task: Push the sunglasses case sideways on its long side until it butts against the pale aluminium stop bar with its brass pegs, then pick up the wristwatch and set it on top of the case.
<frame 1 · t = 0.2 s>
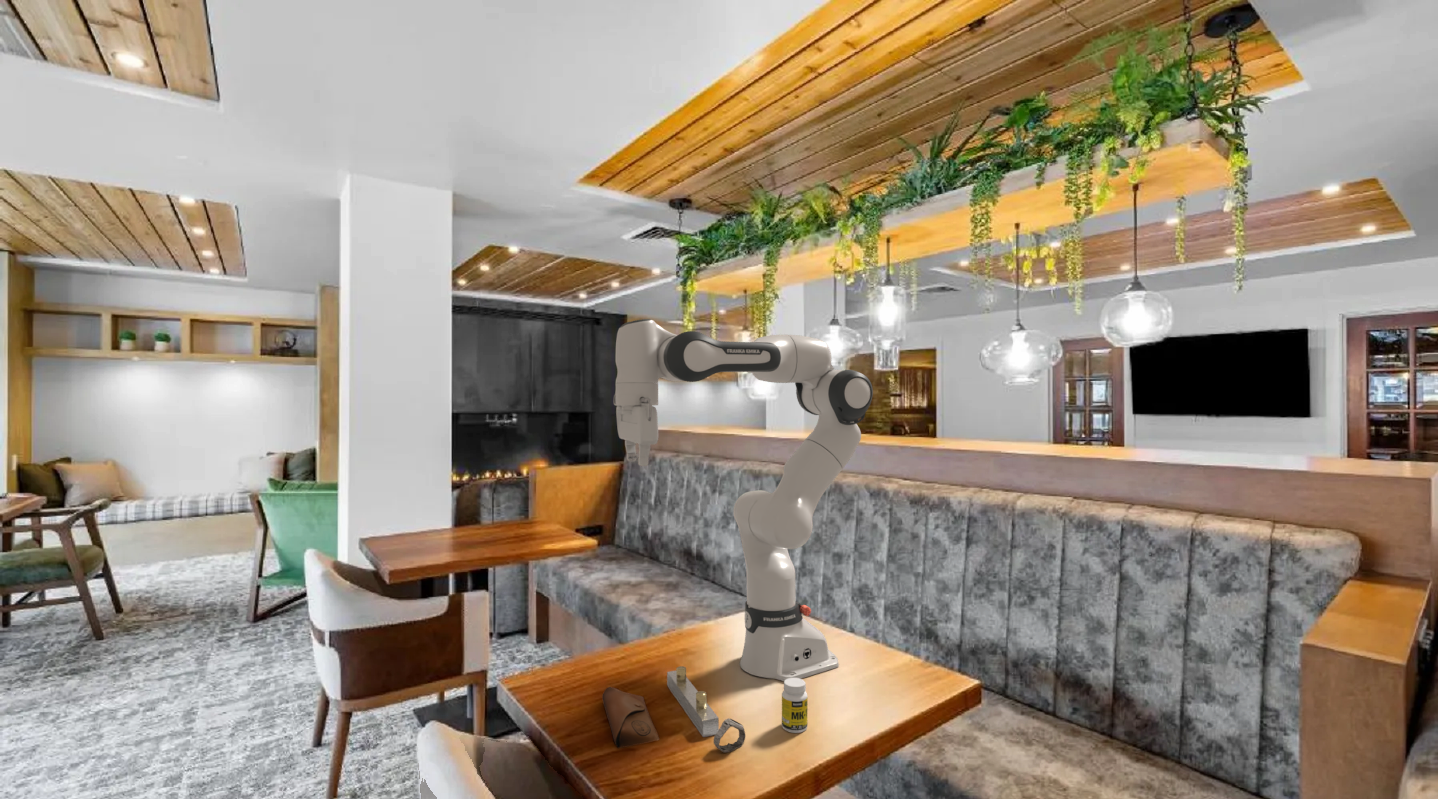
hand: (637, 463, 135), 47 cm above the table, tool pointing down, fingers open, 8 cm apart
sunglasses case: (629, 724, 123), on the table
stop bar: (691, 708, 127), on the table
supplement bottle: (794, 728, 120), on the table
wristwatch: (729, 749, 113), on the table
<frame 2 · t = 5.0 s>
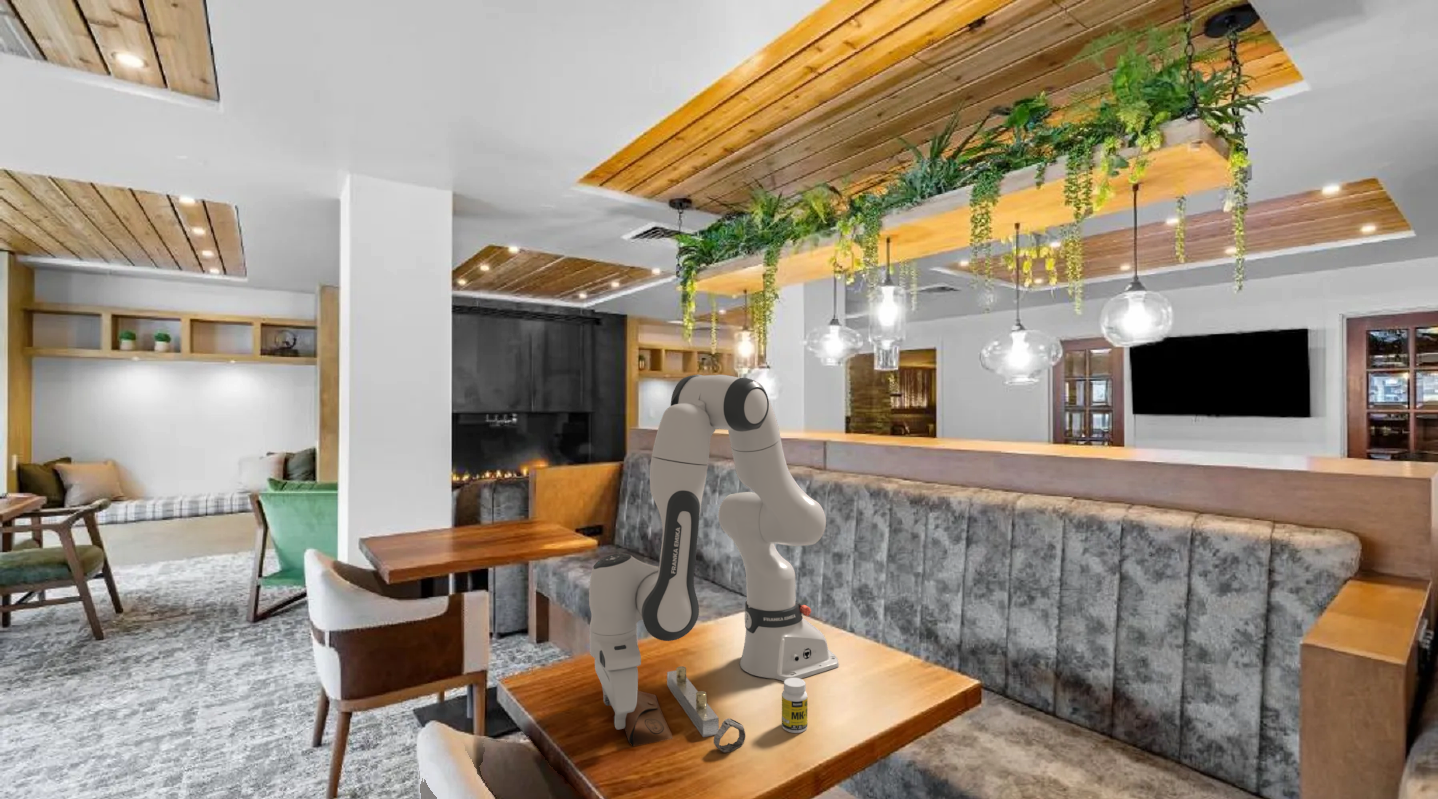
hand: (614, 715, 122), 1 cm above the table, tool pointing down, fingers open, 8 cm apart
sunglasses case: (642, 722, 123), on the table, touching gripper
everything else where it was.
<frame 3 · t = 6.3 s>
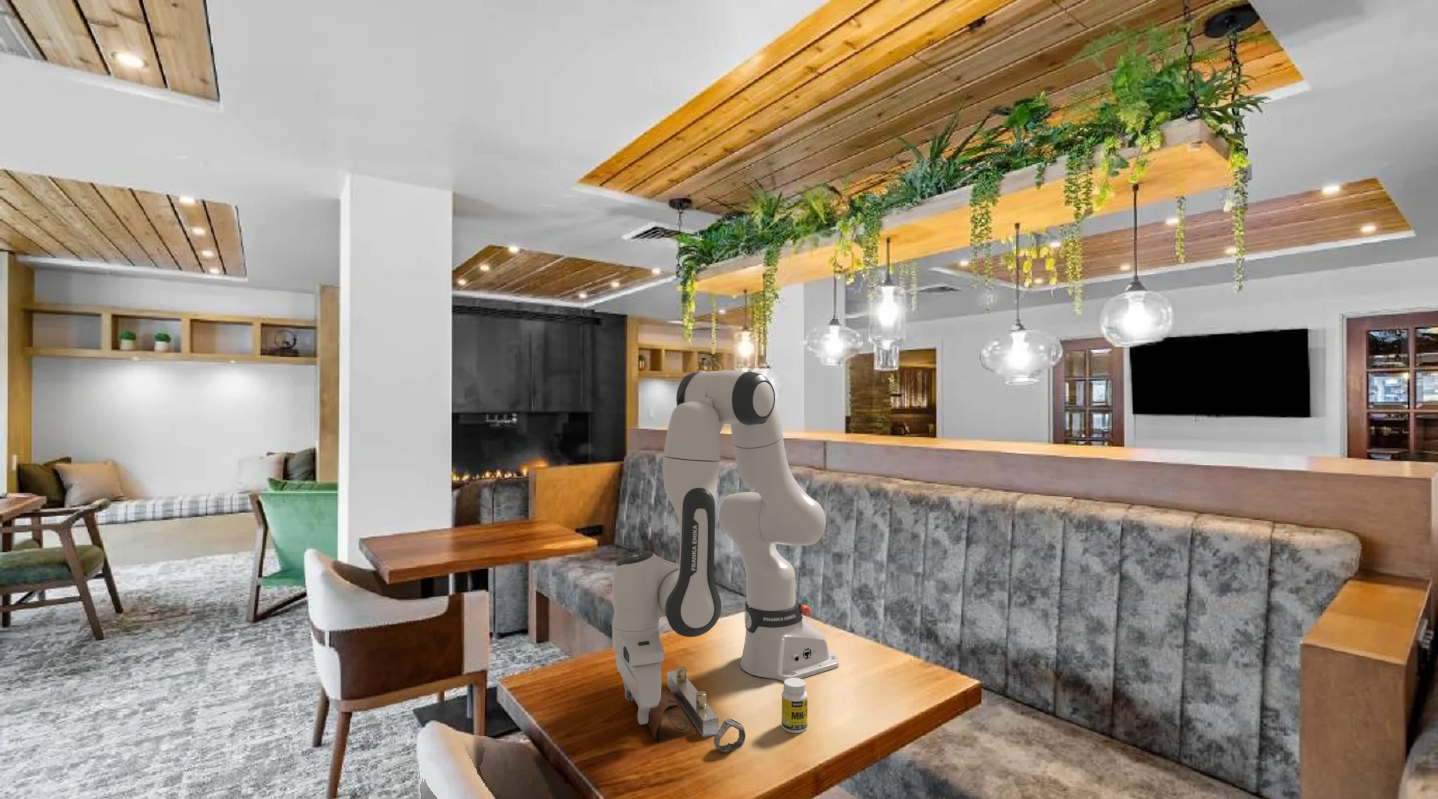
hand: (636, 710, 123), 2 cm above the table, tool pointing down, fingers open, 8 cm apart
sunglasses case: (663, 719, 124), on the table
everything else where it was.
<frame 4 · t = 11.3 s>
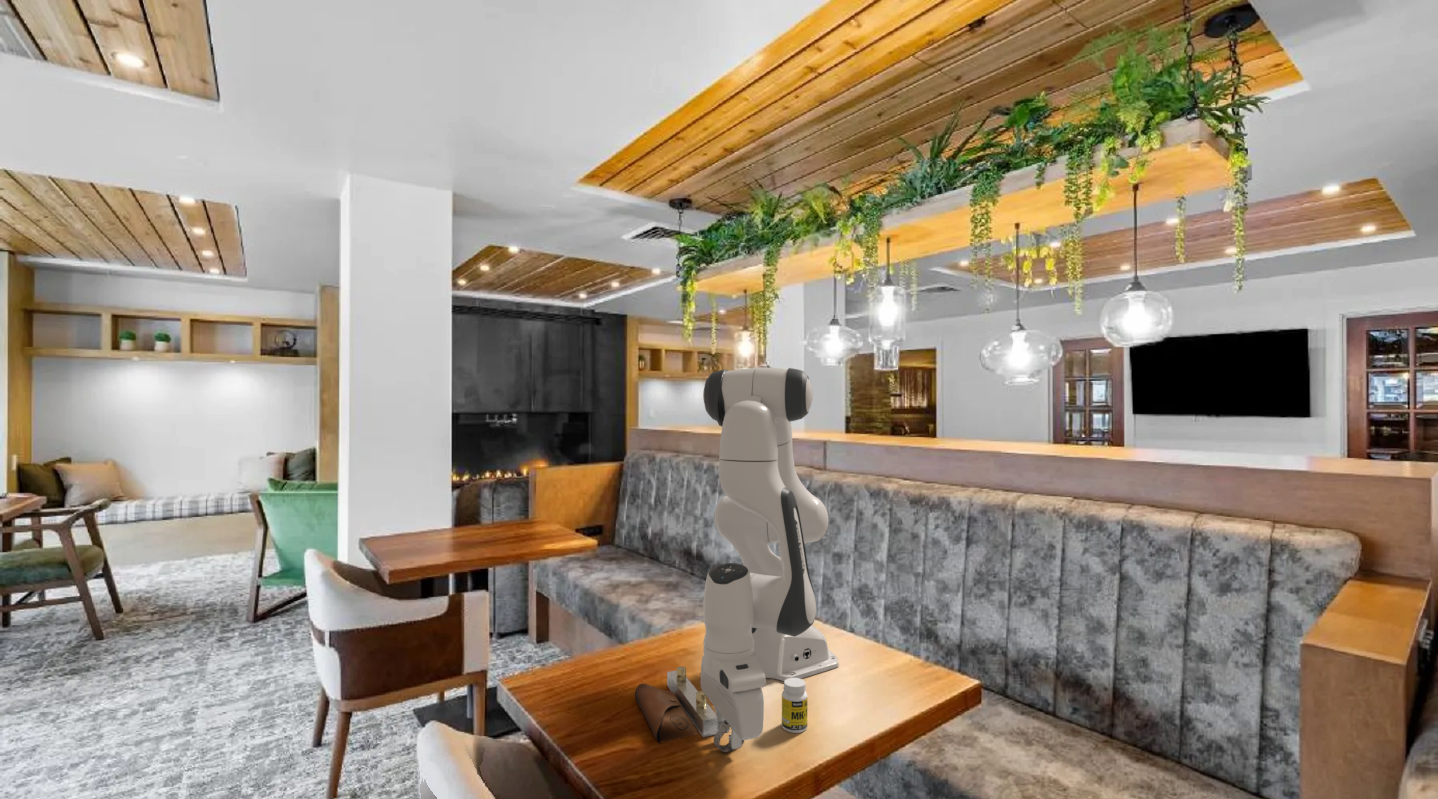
hand: (729, 738, 113), 2 cm above the table, tool pointing down, fingers open, 4 cm apart
wristwatch: (729, 749, 113), on the table, touching gripper
everything else where it was.
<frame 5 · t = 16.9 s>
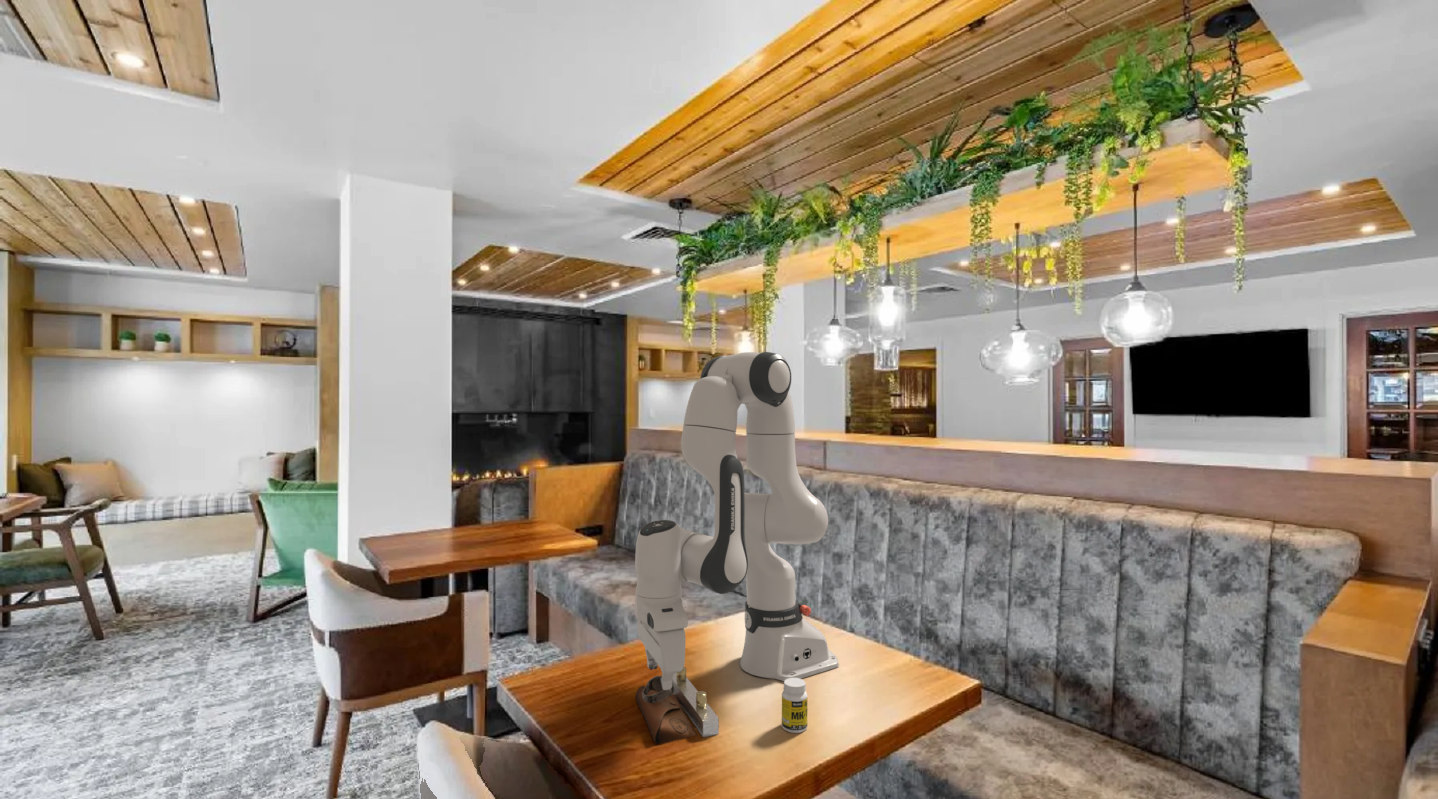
hand: (659, 677, 125), 7 cm above the table, tool pointing down, fingers open, 8 cm apart
sunglasses case: (665, 722, 124), on the table, touching wristwatch
wristwatch: (663, 697, 122), point 5 cm above the table, touching sunglasses case
everything else where it was.
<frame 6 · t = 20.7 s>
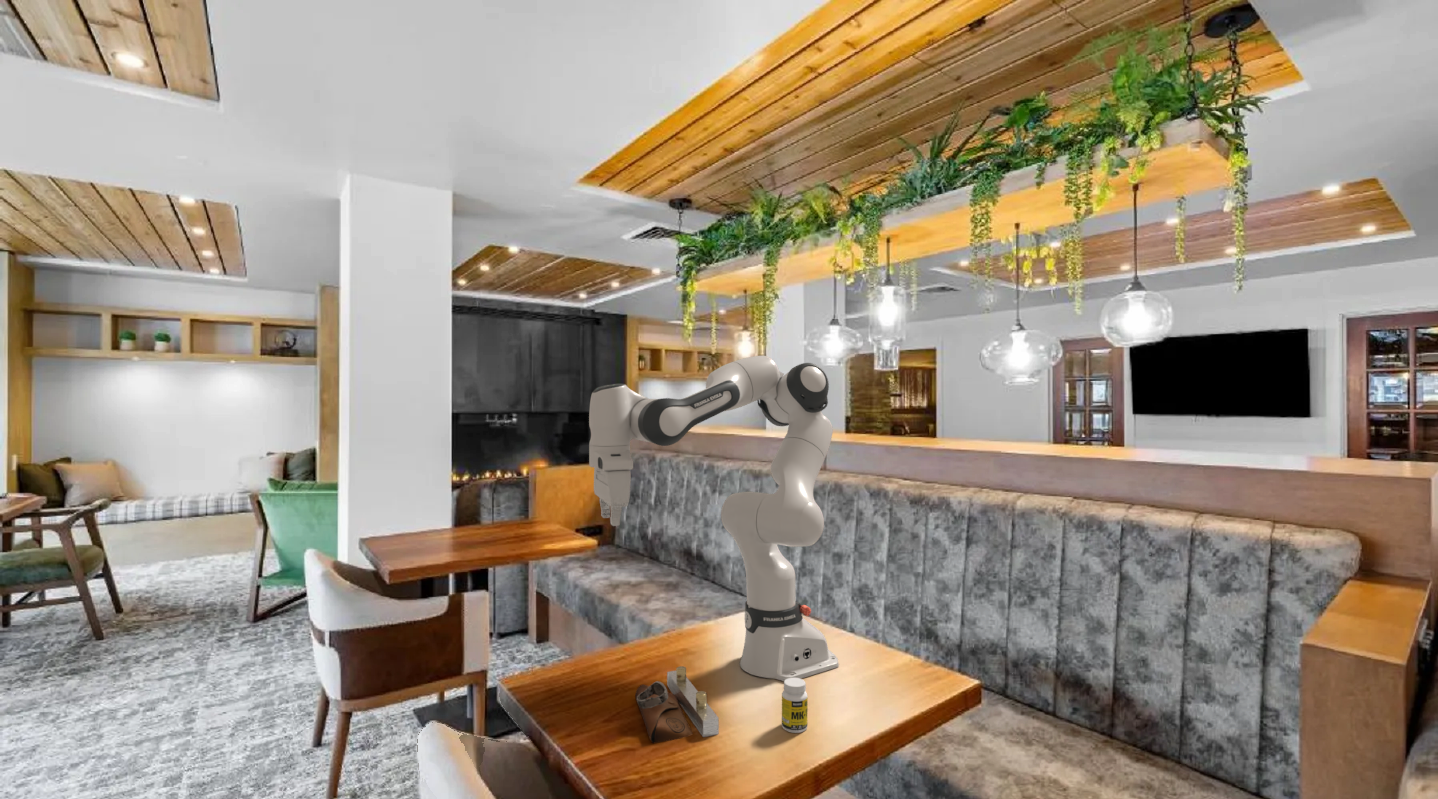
hand: (610, 521, 141), 34 cm above the table, tool pointing down, fingers open, 8 cm apart
sunglasses case: (663, 721, 124), on the table, touching stop bar, wristwatch
wristwatch: (650, 704, 120), point 4 cm above the table, touching sunglasses case
everything else where it was.
at the end: sunglasses case inside the target area (1.0 cm from its centre), on the table; wristwatch point 4.2 cm above the table; wristwatch 4.6 cm from the sunglasses case (horizontally) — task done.
